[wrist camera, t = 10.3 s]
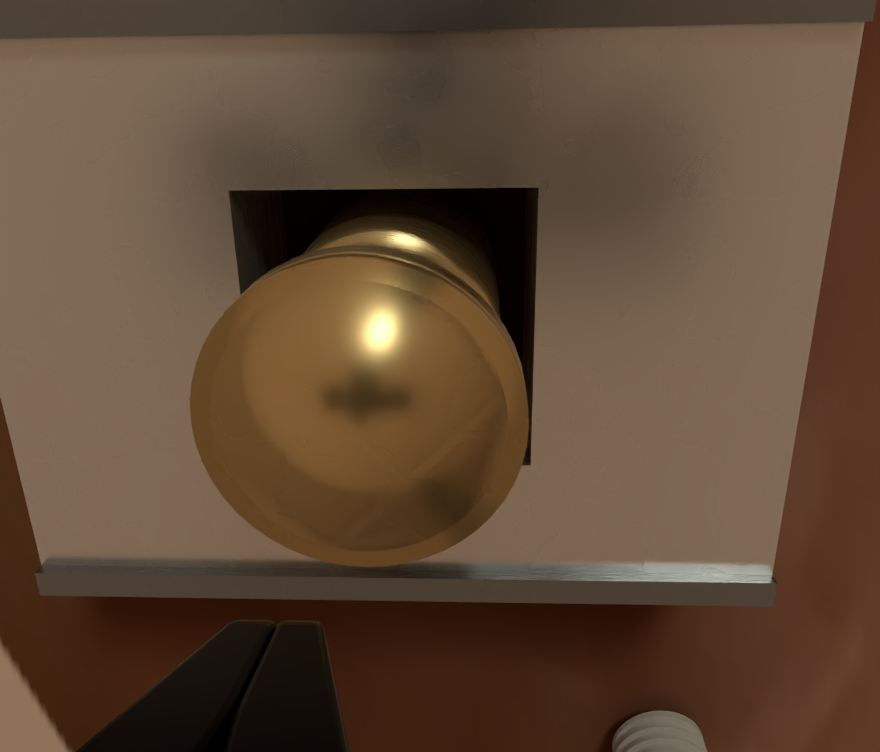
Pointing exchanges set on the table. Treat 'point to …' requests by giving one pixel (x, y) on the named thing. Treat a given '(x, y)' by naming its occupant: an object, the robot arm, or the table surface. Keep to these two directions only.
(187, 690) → the robot arm
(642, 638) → the table surface
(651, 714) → the light bulb
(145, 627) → the table surface
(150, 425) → the jig
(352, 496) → the door knob
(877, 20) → the table surface
